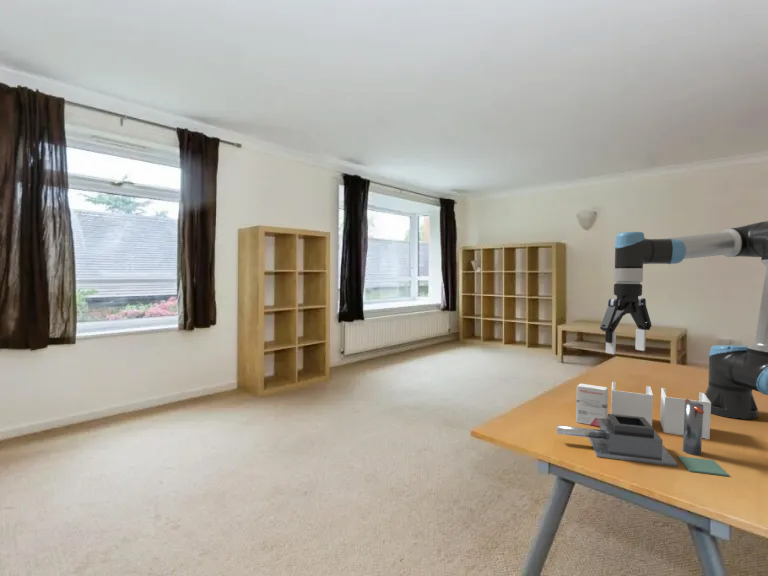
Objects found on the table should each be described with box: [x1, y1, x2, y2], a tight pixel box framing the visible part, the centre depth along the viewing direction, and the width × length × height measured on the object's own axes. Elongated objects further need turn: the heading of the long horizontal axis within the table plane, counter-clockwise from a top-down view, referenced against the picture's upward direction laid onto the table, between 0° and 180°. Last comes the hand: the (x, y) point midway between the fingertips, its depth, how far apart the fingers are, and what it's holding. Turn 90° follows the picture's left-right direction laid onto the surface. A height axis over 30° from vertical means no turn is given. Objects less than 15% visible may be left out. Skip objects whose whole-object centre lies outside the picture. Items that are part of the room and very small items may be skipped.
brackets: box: [610, 381, 712, 440], centre depth 132 cm, size 25×11×11 cm, turn 62°
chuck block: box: [556, 413, 678, 467], centre depth 115 cm, size 27×14×8 cm, turn 73°
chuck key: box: [682, 398, 704, 456], centre depth 113 cm, size 4×9×13 cm, turn 163°
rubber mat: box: [676, 455, 730, 478], centre depth 105 cm, size 8×8×1 cm
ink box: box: [575, 383, 609, 428], centre depth 133 cm, size 9×5×12 cm, turn 55°
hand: (625, 351), depth 130 cm, fingers open, 13 cm apart
